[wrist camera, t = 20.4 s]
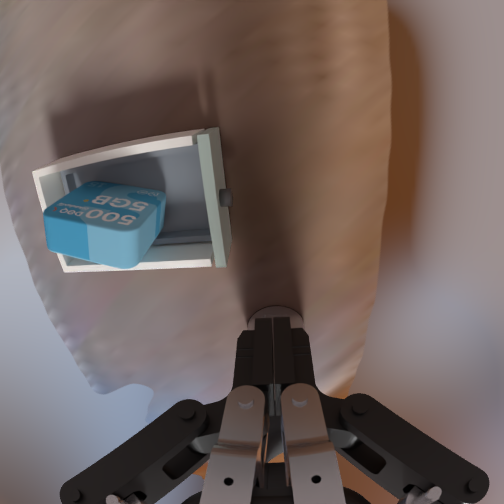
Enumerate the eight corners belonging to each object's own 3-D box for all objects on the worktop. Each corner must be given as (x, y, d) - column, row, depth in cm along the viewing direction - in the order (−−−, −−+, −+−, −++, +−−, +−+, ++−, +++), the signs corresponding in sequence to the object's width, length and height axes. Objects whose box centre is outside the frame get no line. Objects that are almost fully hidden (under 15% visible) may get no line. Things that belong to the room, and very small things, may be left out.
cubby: (219, 239, 41) (211, 266, 35) (86, 248, 42) (64, 272, 36) (204, 128, 34) (191, 135, 28) (61, 157, 35) (32, 171, 29)
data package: (169, 191, 36) (133, 232, 26) (166, 223, 39) (133, 273, 28) (89, 179, 36) (37, 213, 25) (89, 209, 38) (42, 250, 27)
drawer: (241, 238, 40) (236, 266, 34) (94, 248, 42) (72, 273, 36) (229, 125, 33) (221, 132, 27) (69, 155, 35) (39, 169, 29)
